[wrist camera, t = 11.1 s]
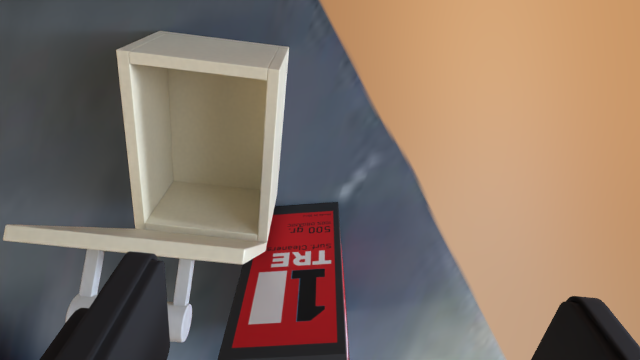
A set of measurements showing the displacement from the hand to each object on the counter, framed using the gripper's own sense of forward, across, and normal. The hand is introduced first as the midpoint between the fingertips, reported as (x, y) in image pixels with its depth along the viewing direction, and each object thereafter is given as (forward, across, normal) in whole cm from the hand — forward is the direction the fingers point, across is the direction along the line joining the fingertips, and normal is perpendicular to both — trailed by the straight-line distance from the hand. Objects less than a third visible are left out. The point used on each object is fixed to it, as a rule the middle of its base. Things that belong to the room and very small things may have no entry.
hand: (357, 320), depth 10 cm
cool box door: (+16, +10, +11) cm, 22 cm away
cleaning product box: (+32, 0, +25) cm, 41 cm away
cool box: (+32, +10, +8) cm, 35 cm away
